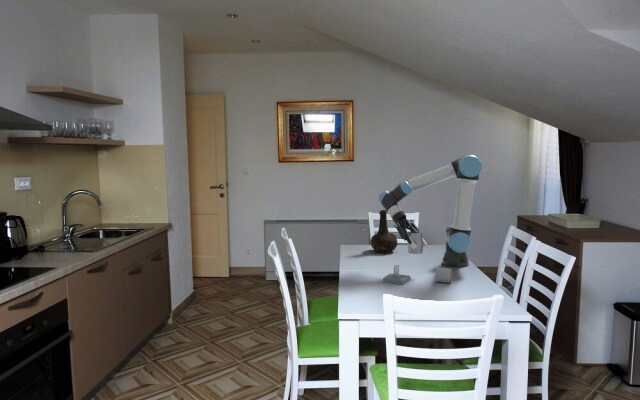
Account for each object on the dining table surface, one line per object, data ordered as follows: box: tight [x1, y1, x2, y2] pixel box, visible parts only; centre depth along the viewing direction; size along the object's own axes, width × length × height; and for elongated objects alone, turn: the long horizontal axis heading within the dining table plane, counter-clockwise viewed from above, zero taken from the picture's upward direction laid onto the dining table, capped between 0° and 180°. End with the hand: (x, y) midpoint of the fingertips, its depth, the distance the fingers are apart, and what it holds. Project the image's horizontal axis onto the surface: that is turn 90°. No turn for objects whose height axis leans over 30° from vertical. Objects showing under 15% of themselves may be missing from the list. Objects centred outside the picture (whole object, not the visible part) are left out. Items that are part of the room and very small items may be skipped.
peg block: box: [382, 264, 411, 286], centre depth 235 cm, size 11×11×8 cm
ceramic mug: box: [434, 266, 453, 284], centre depth 234 cm, size 11×8×8 cm
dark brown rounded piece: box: [369, 209, 398, 254], centre depth 304 cm, size 18×18×28 cm
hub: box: [407, 231, 424, 255], centre depth 247 cm, size 7×7×11 cm
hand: (420, 246), depth 245 cm, fingers closed on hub, 8 cm apart
